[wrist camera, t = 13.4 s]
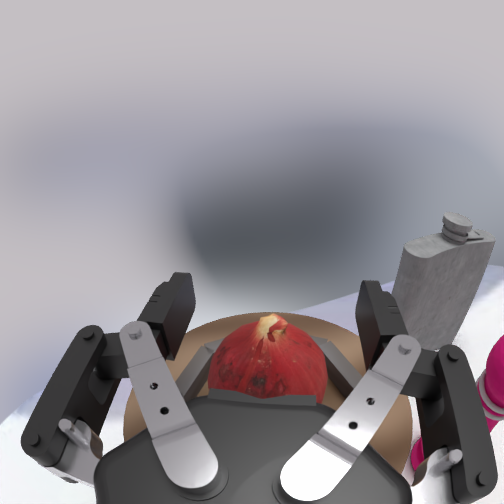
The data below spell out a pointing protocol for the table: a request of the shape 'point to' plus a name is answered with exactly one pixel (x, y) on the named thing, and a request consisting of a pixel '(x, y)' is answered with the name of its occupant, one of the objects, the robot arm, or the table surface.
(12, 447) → the table surface
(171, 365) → the ring stand
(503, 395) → the pepper mill
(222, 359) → the onion
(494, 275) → the table surface
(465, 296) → the hip flask
